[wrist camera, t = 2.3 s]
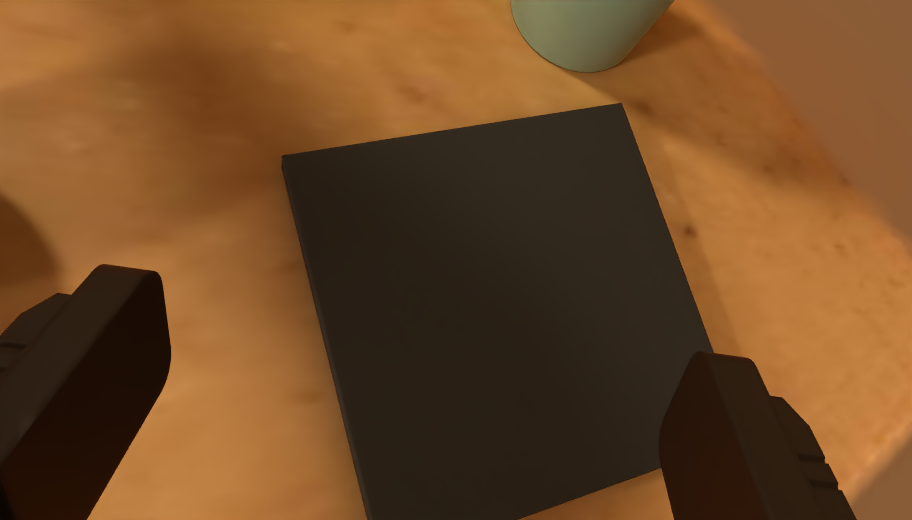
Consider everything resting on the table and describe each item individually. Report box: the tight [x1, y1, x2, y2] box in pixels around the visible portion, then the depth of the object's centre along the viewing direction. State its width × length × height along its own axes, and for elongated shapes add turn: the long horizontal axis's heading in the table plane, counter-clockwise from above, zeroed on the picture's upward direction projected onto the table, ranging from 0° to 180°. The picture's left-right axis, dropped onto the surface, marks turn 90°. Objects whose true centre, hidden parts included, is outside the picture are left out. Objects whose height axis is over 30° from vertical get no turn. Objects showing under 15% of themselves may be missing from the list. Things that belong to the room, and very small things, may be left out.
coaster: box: [281, 103, 714, 520], centre depth 25 cm, size 14×14×1 cm
